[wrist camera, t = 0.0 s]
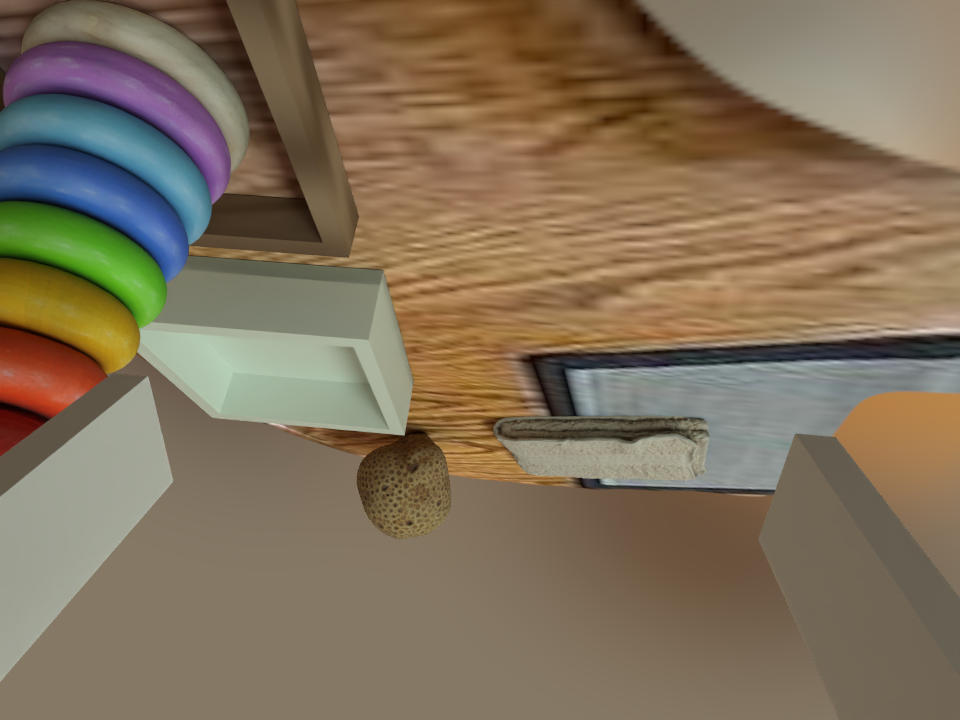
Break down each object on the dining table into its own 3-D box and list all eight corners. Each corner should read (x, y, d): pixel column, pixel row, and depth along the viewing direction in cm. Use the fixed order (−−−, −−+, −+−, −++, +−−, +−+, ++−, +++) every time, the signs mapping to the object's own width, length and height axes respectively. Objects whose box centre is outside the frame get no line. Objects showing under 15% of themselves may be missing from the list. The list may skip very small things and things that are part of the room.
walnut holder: (-190, -125, 18) (-243, -79, 17) (262, -108, 17) (238, -58, 16) (89, 197, 30) (69, 236, 29) (358, 216, 30) (348, 257, 28)
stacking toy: (118, 159, 28) (-97, 584, 19) (-18, -15, 21) (-453, 539, 12) (282, 165, 27) (132, 610, 19) (199, -13, 20) (-104, 578, 11)
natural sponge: (369, 441, 62) (350, 539, 58) (363, 411, 54) (340, 521, 50) (455, 453, 62) (443, 551, 58) (462, 424, 54) (448, 535, 50)
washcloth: (705, 456, 57) (707, 487, 56) (523, 454, 62) (521, 483, 61) (710, 408, 47) (712, 445, 46) (492, 411, 52) (489, 445, 51)
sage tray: (128, 251, 34) (98, 317, 32) (383, 270, 34) (368, 340, 32) (229, 365, 48) (212, 417, 46) (413, 381, 47) (404, 435, 45)
